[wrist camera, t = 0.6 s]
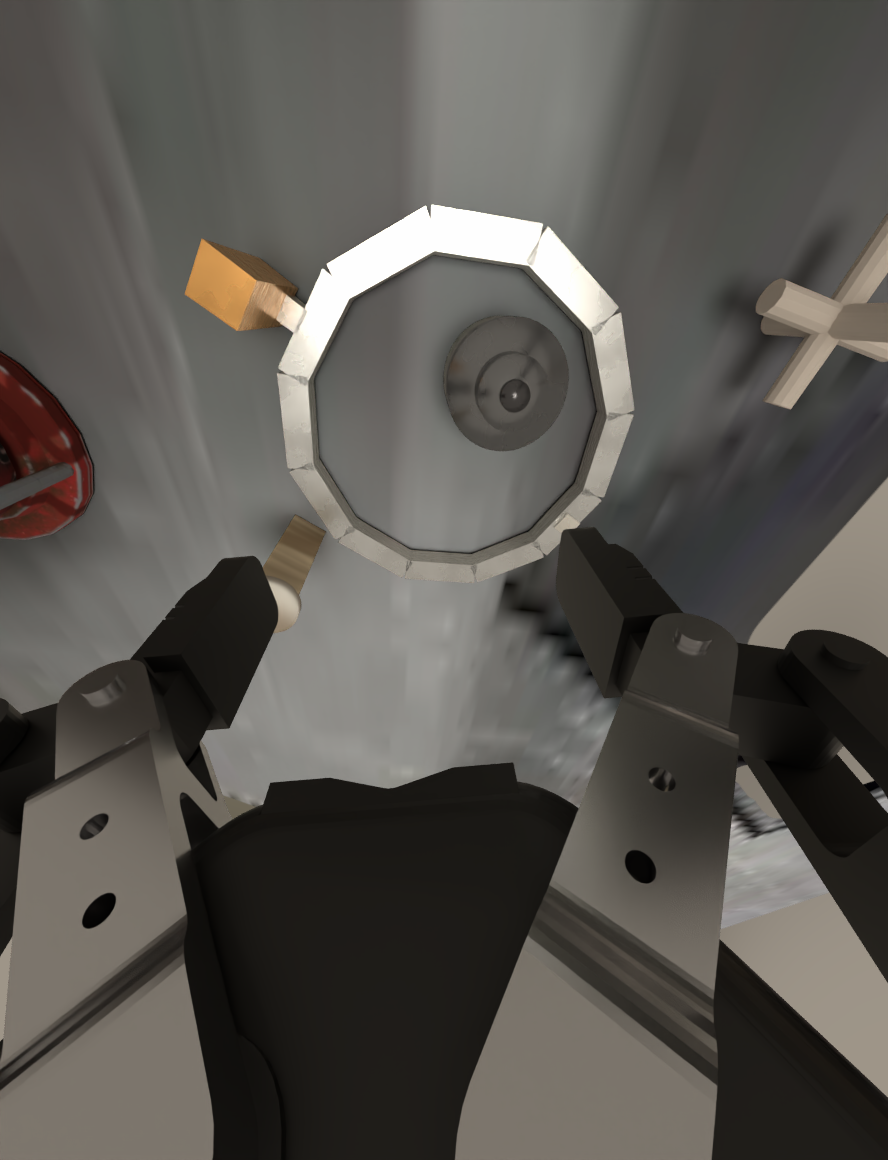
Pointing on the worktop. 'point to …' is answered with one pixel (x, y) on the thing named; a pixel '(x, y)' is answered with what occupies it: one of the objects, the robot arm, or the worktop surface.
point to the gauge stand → (292, 568)
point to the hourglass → (38, 459)
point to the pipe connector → (828, 319)
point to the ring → (267, 299)
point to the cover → (505, 381)
